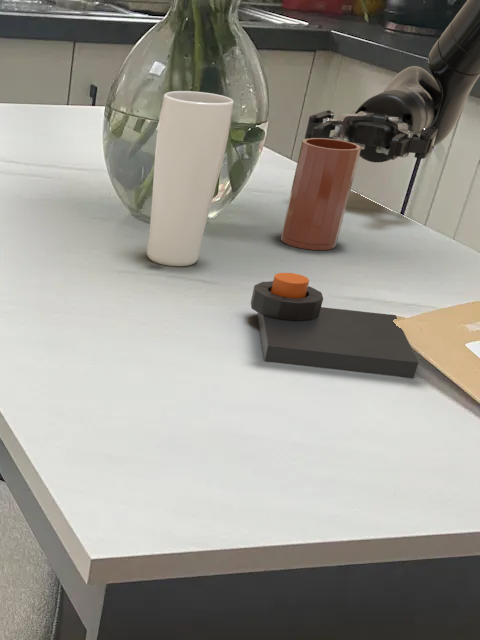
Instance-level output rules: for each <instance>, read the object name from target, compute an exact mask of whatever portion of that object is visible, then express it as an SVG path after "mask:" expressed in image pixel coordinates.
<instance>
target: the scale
mask: <svg viewBox="0 0 480 640" xmlns="http://www.w3.org/2000/svg"><path fill="white" fill-rule="evenodd" d="M272 284H273V280H271V281H261V282H258V283H256V284H255V285H254V286H253V291H252V295H251V299H250V308H251V310H253V311H254V312H257V314H256V315H257V322H258V329H259V334H260V335H259V336H260V341H261V348H262V354H263V360H264V362H267V363H278V364H285V365H286V364H287V365H295V366H302V367H312V368H320V369H330V370H337V371H338V370H339V371H348V372H355V373H366V374H374V375H381V376H391V377H392V376H393V377H400V378H401V377H402V378H408V379H414V378H415V375H416V372H417V369H418V365H419V361H418V358H417V356H416V355H415V352H414V351H413V348H412V346H411V344H410V342H409V340H408V338H407V335H406V333H405V331H404V330H402V329H403V328H402V329H401V328H399V327H398V326H396V324H395V323H394V322H393V320H394V319H398V317H397V315H396V314H388V313H381V312H380V313H379V312H372V311H371V312H370V311H360V310H352V309H343V308H334V307H323V306H322V305H323V301H324V296H323V293H322V292H321V291H319V290H318V289H316V288H314V287H313V286H309V285H308V288H307V292H306V296H305V298H287V297H283V296H279V295H275V294H273V293H271V289H272Z"/></svg>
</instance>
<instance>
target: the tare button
mask: <svg viewBox="0 0 480 640" xmlns="http://www.w3.org/2000/svg"><path fill="white" fill-rule="evenodd" d="M272 281H273V284H272V289H271V293H273V294H275V295H279V296H283V297H287V298H305V296H306V292H307V288H308V286H309V285H310V284H309V283H310V279H309V278H308V277H307V276H305V275H302V274H298V273H294V272H293V273H292V272H278V273H275V274H274V276H273V280H272Z"/></svg>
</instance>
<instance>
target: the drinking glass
mask: <svg viewBox="0 0 480 640" xmlns="http://www.w3.org/2000/svg"><path fill="white" fill-rule="evenodd" d="M234 103H235V102H234V99H233V98H231V97H228V96H226V95H222V94H217V93H211V92H204V91H194V90H193V91H192V90H175V91H168V92H165V93H164V94H163V98H162V103H161V108H160V114H159V119H158V126H157V131H156V140H155V141H156V142H155V149H154V150H155V152H154V163H153V178H152V180H153V181H152V192H151V193H152V194H151V207H150V219H149V220H150V221H149V231H148V240H147V245H146V246H147V247H146V255H147V256H146V257H148V259H149V260H150V261H152V262H153V263H156V264H158V265H163V266H169V267H189V266H192V265H194V264H195V263H197V261H198V260H199V257H200V252H201V247H202V242H203V237H204V234H205V230H206V225H207V222H208V218H209V214H210V212H211V211H210V210H211V207H212V203H213V199H214V195H215V191H216V187H217V184H218V180H219V176H220V173H221V169H222V165H223V162H224V158H225V154H226V149H227V145H228V141H229V140H228V139H229V135H230V130H231V123H232V117H233V112H234V111H233V110H234Z"/></svg>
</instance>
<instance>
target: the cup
mask: <svg viewBox="0 0 480 640" xmlns="http://www.w3.org/2000/svg"><path fill="white" fill-rule="evenodd" d="M347 141H348V140H344V141H342V140H336V139H326V138H309V139H305V138H304V139H303V140H302V141H301V145H300V150H299V153H298V158H297V163H296V167H295V171H294V172H295V173H294V176H293V180H292V184H291V190H290V195H289V199H288V203H287V207H286V212H285V215H284V219H283V220H284V221H283V225H282V229H281V236H280V240H281V242H282V243H284V244H286V245H288V246H290V247H294V248H298V249H301V250H309V251H328V250H332V249H335V248H336V246H337V242H338V241H339V240H338V239H339V236H340V232H341V229H342V225H343V220H344V217H345V214H346V208H347V204H348V201H349V197H350V194H351V189H352V185H353V182H354V177H355V174H356V170H357V167H358V161H359V157H360V156H359V154H360V151H361V147H360V146H359V145H357V144H354V143H351V142H347Z"/></svg>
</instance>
